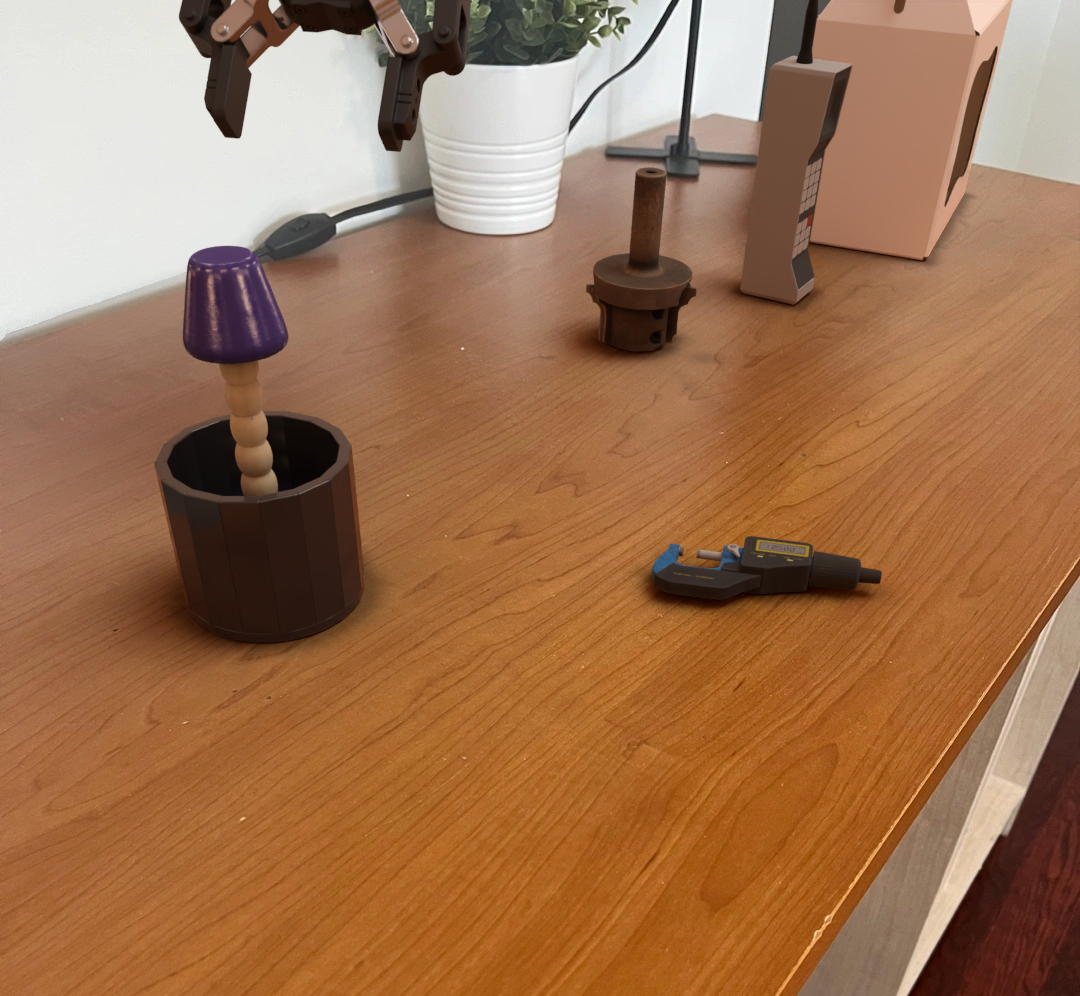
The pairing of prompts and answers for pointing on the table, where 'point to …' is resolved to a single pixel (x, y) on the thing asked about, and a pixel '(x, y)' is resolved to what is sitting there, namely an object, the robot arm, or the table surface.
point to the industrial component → (641, 277)
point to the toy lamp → (236, 346)
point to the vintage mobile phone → (791, 169)
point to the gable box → (903, 117)
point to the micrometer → (759, 570)
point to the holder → (264, 529)
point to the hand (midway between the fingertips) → (306, 136)
